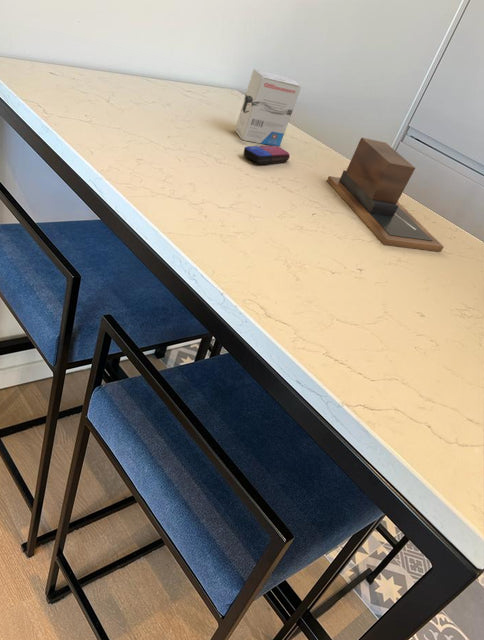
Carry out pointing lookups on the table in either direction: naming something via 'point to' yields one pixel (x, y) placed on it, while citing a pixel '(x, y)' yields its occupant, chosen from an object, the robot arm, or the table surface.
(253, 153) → the eraser
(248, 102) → the ink box
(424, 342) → the table surface
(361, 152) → the duster
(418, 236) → the board
